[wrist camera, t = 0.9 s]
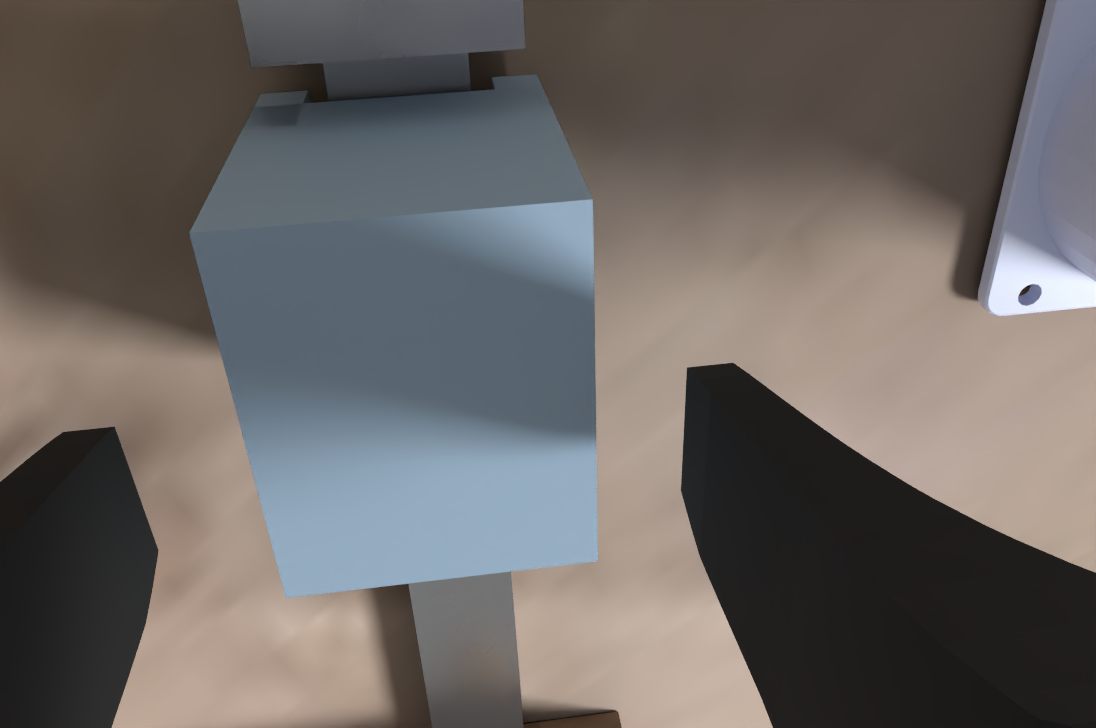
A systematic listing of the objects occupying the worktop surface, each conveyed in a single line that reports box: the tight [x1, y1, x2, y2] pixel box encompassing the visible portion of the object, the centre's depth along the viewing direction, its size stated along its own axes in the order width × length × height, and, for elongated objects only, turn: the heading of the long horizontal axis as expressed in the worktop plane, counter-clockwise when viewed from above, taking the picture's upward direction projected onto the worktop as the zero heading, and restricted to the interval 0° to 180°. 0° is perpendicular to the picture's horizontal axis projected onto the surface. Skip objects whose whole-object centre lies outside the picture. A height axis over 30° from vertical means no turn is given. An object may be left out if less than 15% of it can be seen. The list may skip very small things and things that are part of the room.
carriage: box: [189, 74, 598, 598], centre depth 15 cm, size 5×6×6 cm
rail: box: [238, 0, 525, 728], centre depth 20 cm, size 4×20×3 cm, turn 2°
